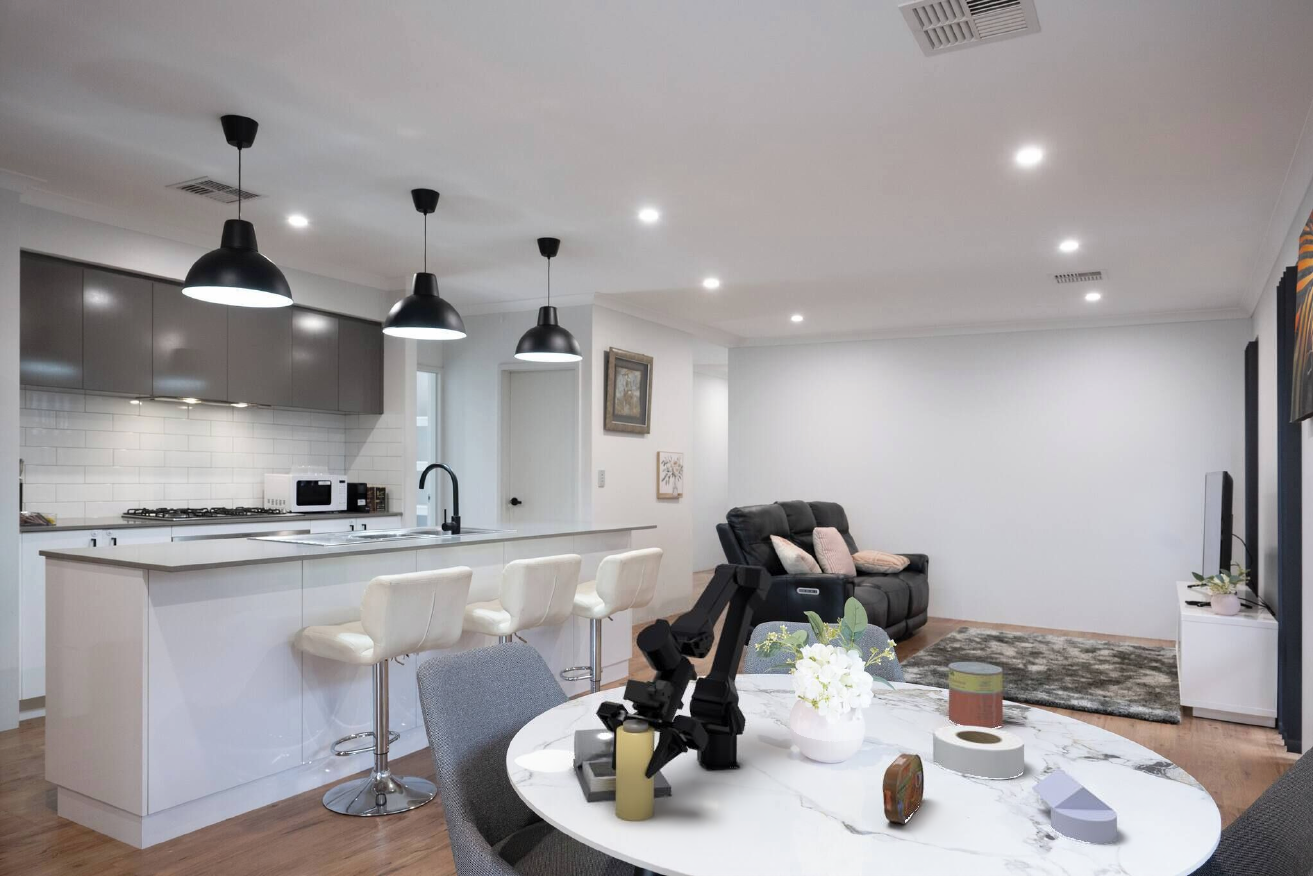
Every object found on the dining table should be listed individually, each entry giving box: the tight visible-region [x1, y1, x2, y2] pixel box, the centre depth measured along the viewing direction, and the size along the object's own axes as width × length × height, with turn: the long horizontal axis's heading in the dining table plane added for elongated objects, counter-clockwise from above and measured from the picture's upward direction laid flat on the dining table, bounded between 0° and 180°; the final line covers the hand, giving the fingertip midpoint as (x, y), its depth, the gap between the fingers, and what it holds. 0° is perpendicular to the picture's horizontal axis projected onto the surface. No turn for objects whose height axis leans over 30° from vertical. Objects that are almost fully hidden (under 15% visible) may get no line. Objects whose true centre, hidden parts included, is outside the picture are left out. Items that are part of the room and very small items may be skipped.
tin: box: [882, 753, 925, 825], centre depth 136 cm, size 15×3×8 cm, turn 148°
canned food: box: [947, 661, 1004, 728], centre depth 187 cm, size 11×11×12 cm
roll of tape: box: [932, 725, 1025, 778], centre depth 159 cm, size 16×16×6 cm
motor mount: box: [572, 728, 672, 803], centre depth 148 cm, size 14×17×8 cm
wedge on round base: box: [1030, 767, 1118, 845], centre depth 132 cm, size 9×7×13 cm
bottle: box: [615, 720, 656, 822], centre depth 134 cm, size 6×6×14 cm
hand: (630, 773), depth 133 cm, fingers closed on bottle, 6 cm apart
